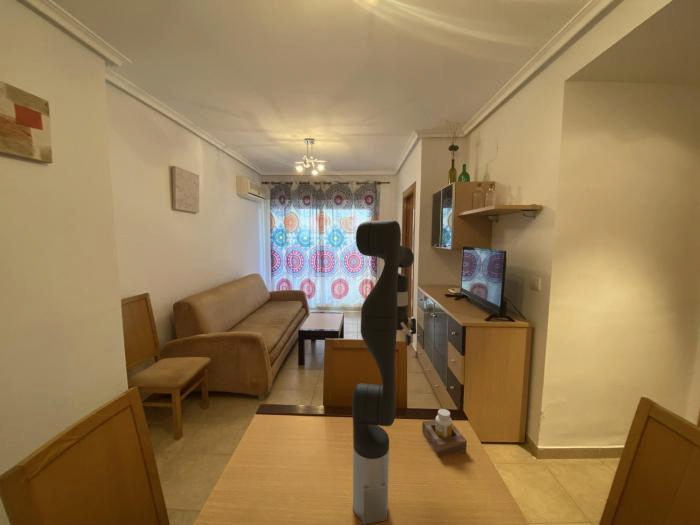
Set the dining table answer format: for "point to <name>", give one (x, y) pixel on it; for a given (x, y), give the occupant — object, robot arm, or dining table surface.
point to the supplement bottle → (443, 424)
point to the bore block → (444, 440)
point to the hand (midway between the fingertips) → (396, 345)
